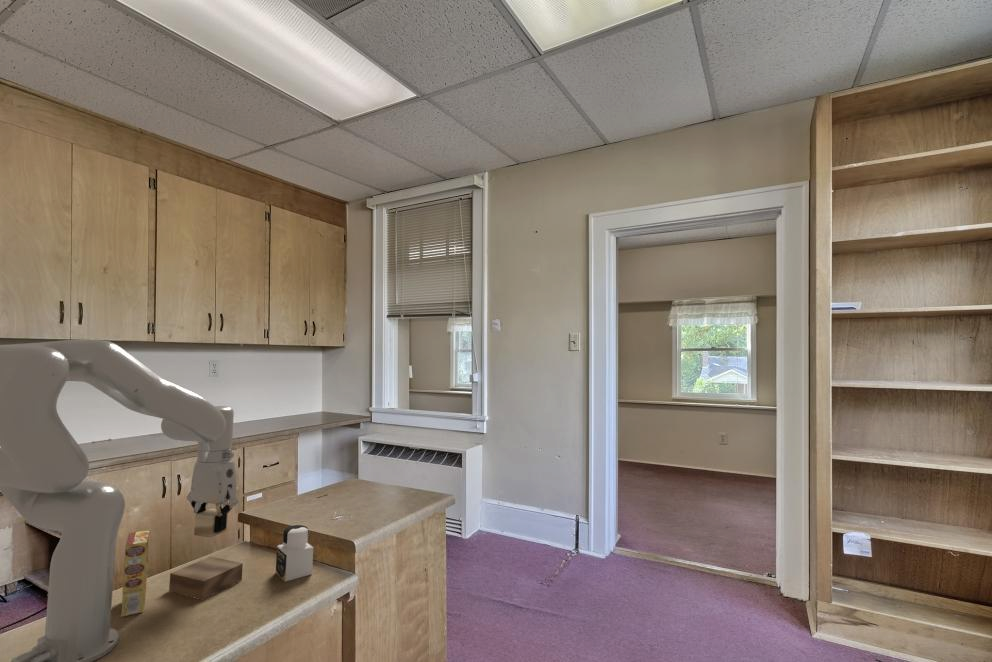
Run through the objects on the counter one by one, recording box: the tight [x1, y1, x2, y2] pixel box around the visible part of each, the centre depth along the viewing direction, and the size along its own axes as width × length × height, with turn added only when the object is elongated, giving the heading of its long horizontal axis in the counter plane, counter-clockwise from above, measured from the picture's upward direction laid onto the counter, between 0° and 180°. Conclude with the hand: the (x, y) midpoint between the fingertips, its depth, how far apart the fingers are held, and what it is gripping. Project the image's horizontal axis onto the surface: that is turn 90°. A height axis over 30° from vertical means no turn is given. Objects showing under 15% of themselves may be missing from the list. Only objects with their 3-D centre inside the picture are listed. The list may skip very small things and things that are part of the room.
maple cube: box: [193, 508, 229, 538], centre depth 121 cm, size 5×5×5 cm
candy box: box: [120, 530, 150, 617], centre depth 109 cm, size 9×4×15 cm, turn 33°
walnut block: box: [168, 556, 244, 600], centre depth 120 cm, size 11×11×4 cm
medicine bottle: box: [275, 524, 314, 582], centre depth 128 cm, size 7×7×12 cm
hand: (210, 528), depth 121 cm, fingers closed on maple cube, 5 cm apart
